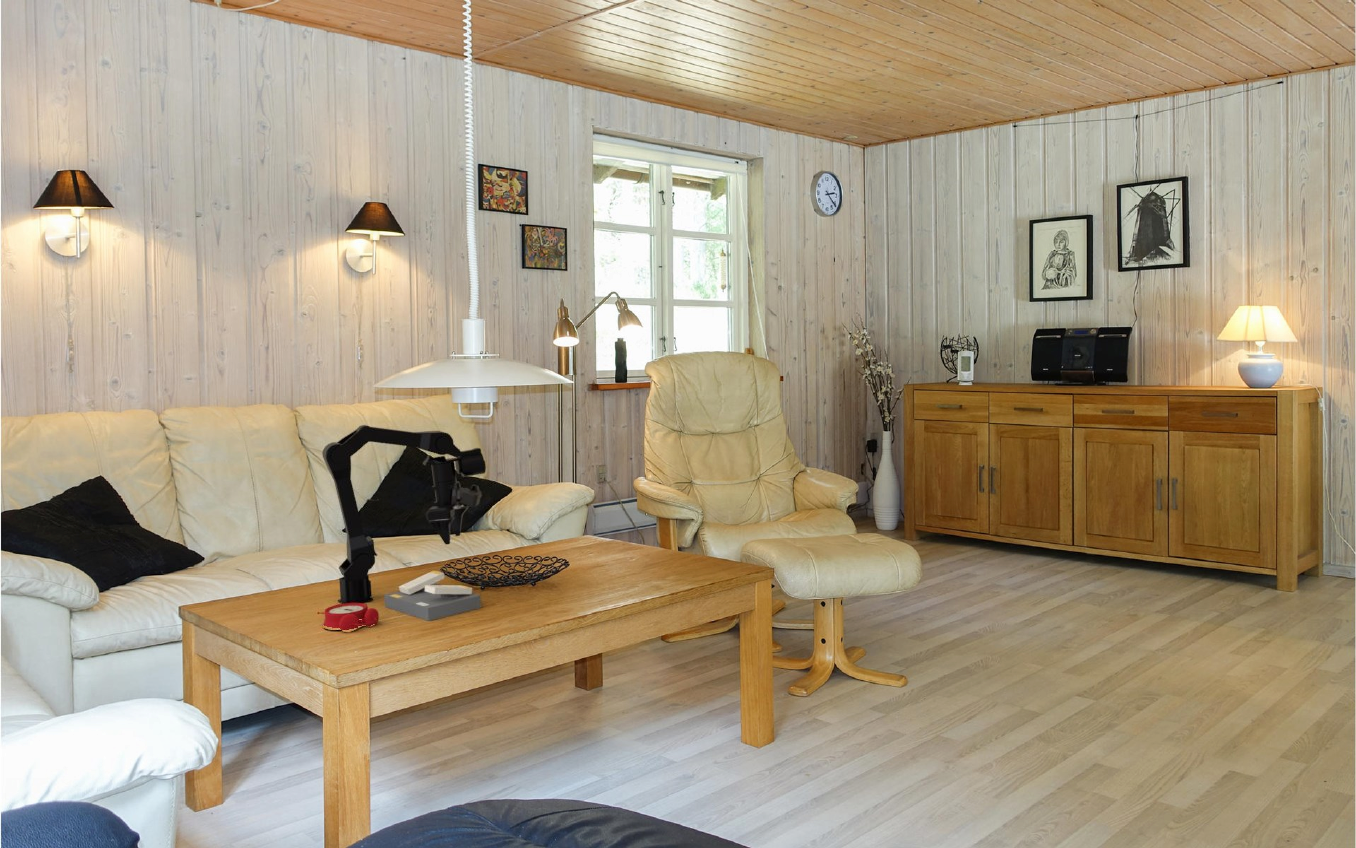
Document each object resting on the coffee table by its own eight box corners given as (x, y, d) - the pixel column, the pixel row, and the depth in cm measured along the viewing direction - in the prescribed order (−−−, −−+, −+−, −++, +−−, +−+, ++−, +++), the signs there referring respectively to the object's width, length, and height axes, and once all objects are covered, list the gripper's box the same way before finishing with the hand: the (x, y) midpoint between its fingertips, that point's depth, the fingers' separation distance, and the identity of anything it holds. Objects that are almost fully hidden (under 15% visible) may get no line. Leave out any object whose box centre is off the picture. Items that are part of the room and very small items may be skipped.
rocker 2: (434, 594, 233) (435, 587, 233) (424, 591, 236) (425, 584, 236) (471, 594, 240) (472, 587, 240) (461, 591, 243) (462, 585, 243)
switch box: (428, 621, 230) (427, 605, 230) (385, 607, 245) (384, 592, 244) (481, 607, 240) (480, 592, 240) (436, 595, 254) (435, 580, 254)
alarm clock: (350, 601, 238) (386, 595, 228) (355, 627, 237) (392, 622, 228) (309, 611, 230) (345, 605, 220) (315, 638, 229) (351, 634, 220)
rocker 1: (409, 594, 242) (407, 589, 242) (400, 592, 245) (398, 586, 245) (444, 578, 249) (443, 572, 248) (435, 575, 252) (433, 570, 251)
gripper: (465, 483, 249) (474, 546, 251) (485, 471, 268) (492, 529, 269) (421, 488, 250) (430, 550, 252) (443, 475, 268) (451, 532, 270)
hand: (452, 540), depth 261 cm, fingers open, 9 cm apart
